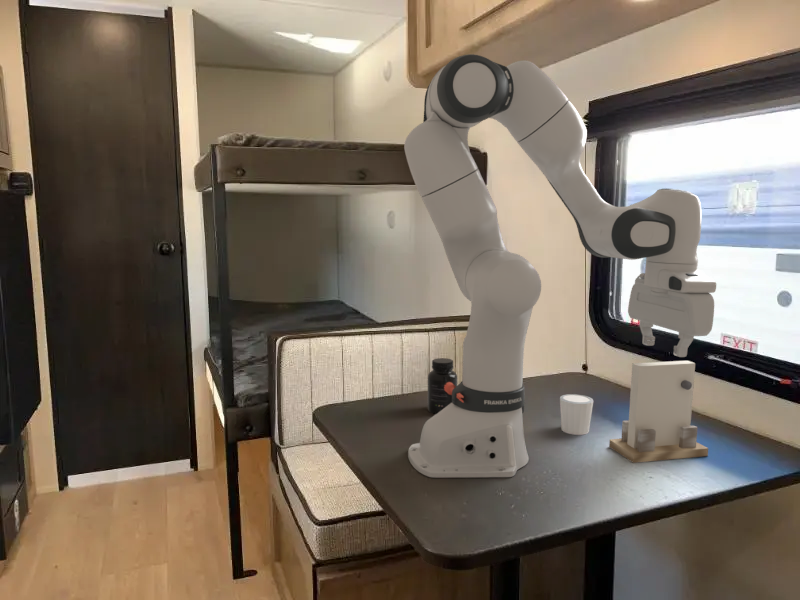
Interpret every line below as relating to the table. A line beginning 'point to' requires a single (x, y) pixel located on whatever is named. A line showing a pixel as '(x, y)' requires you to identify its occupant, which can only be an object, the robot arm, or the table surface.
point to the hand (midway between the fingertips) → (663, 350)
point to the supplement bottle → (440, 384)
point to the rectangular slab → (660, 400)
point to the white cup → (575, 413)
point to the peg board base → (654, 453)
